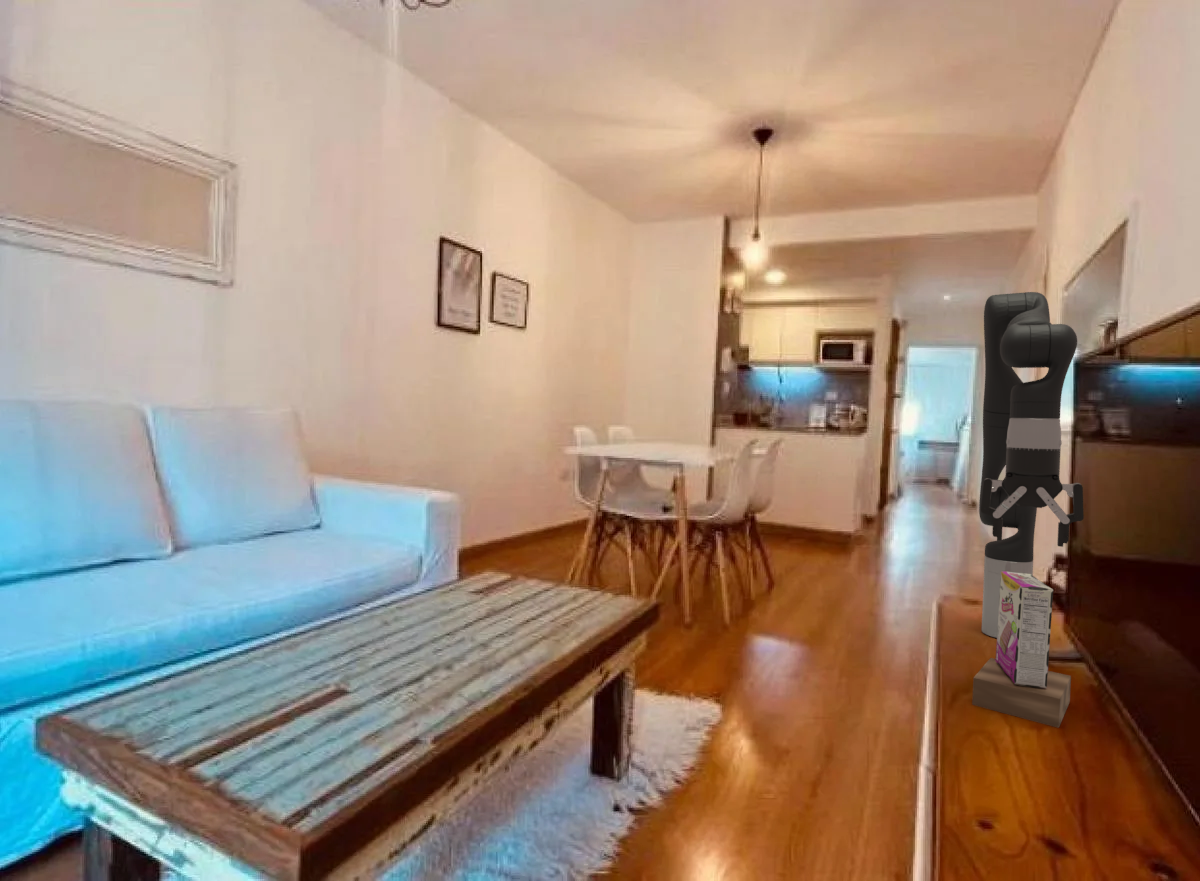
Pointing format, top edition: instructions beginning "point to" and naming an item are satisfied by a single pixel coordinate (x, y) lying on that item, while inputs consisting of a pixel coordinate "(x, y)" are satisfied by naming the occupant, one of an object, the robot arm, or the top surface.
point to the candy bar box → (1024, 628)
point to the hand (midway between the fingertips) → (1029, 542)
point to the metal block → (1022, 695)
